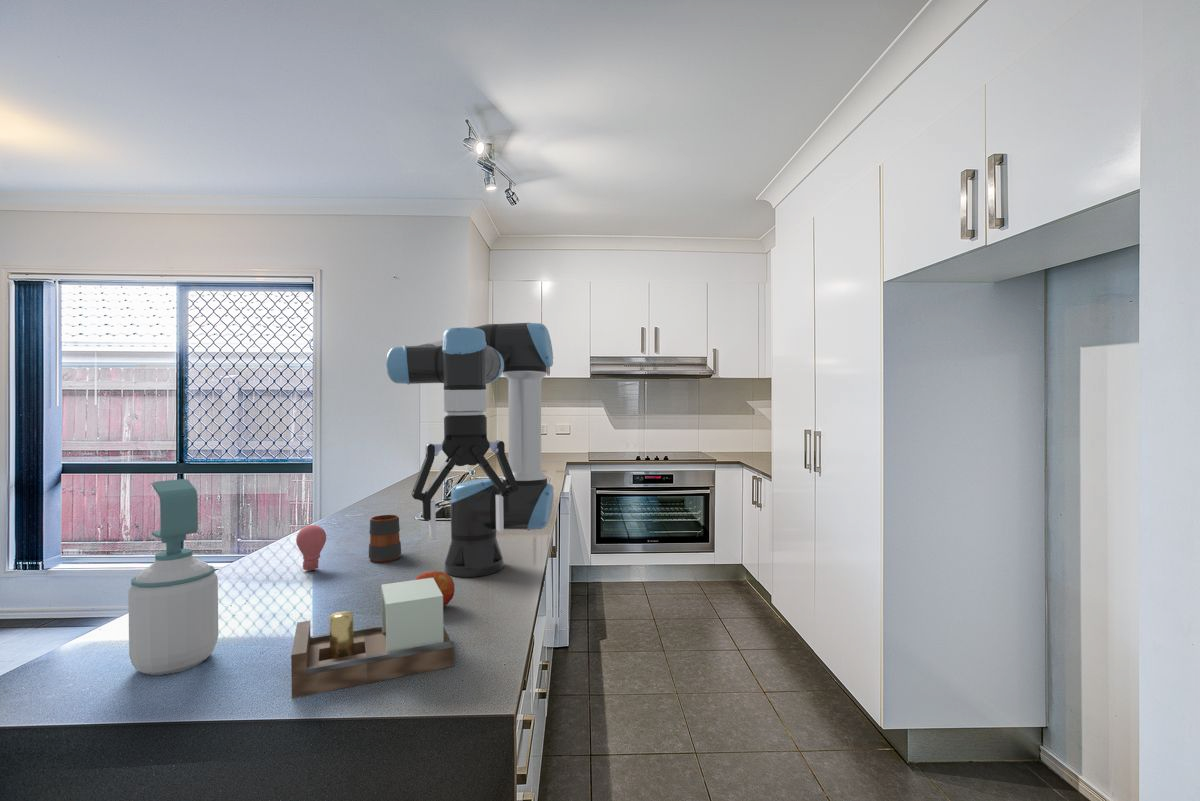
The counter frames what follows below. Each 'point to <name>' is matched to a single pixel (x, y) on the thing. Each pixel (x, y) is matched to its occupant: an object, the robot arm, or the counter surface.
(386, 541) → the mug
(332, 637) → the brass peg
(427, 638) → the cover
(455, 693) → the counter surface
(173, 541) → the soap bottle
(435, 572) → the apple
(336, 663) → the housing base
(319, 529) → the light bulb
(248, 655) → the counter surface
